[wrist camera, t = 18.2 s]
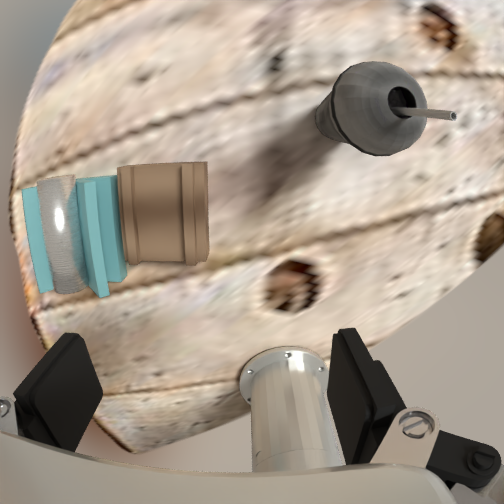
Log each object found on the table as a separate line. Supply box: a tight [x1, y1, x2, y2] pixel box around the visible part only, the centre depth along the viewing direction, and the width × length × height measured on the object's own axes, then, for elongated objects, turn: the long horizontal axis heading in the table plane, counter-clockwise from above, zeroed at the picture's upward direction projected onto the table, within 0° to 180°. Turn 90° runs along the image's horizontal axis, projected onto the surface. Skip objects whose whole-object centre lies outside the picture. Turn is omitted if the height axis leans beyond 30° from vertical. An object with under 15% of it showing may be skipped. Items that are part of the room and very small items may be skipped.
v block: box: [22, 175, 127, 298], centre depth 31 cm, size 12×10×6 cm
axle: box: [37, 174, 89, 294], centre depth 29 cm, size 12×4×4 cm, turn 179°
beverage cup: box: [315, 61, 457, 156], centre depth 21 cm, size 7×7×20 cm
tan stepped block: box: [117, 162, 209, 265], centre depth 31 cm, size 10×9×4 cm
